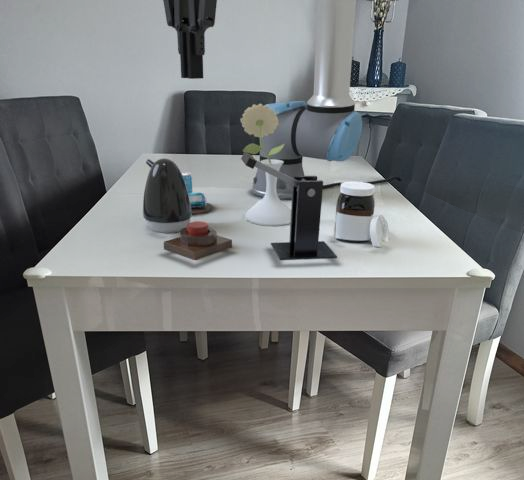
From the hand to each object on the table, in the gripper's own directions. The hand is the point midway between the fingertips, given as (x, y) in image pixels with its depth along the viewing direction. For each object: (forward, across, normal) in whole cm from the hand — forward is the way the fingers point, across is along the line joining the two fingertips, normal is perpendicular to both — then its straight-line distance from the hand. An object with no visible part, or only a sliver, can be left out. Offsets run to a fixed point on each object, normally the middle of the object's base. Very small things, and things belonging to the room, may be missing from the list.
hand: (192, 77), depth 86 cm
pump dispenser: (+31, -14, +5) cm, 34 cm away
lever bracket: (+30, +16, +13) cm, 37 cm away
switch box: (+30, 0, 0) cm, 30 cm away
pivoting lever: (+16, +12, +9) cm, 22 cm away
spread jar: (+31, +20, +28) cm, 46 cm away
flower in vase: (+31, -4, +25) cm, 40 cm away
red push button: (+26, 0, 0) cm, 26 cm away
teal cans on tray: (+31, -26, +21) cm, 45 cm away
